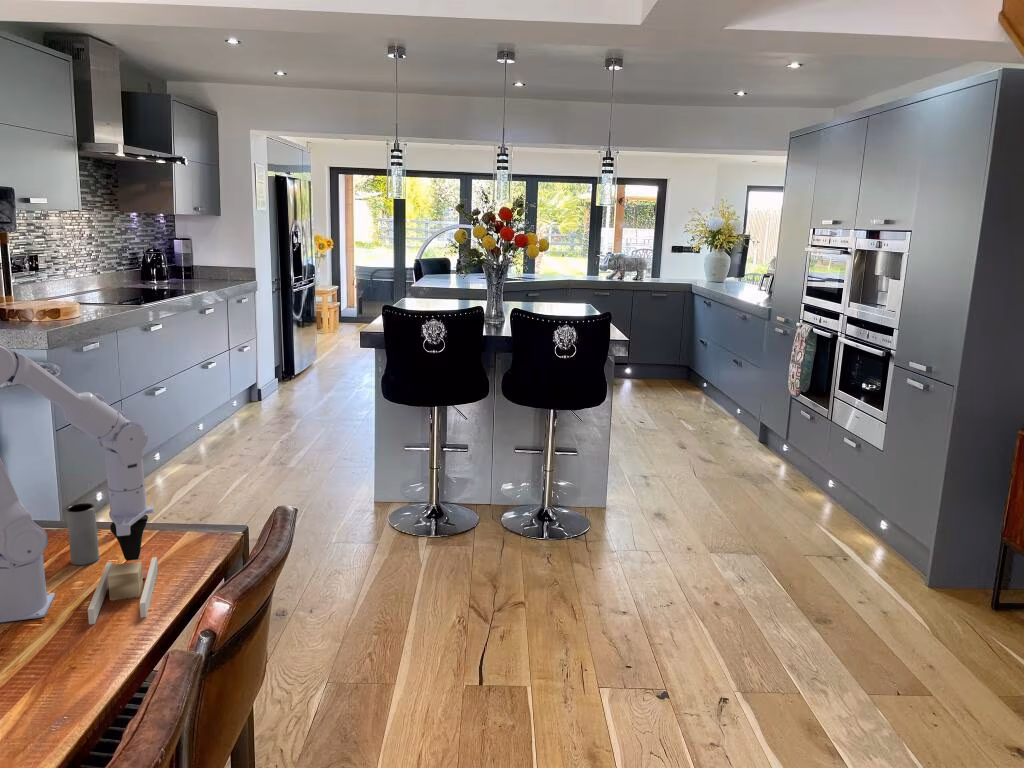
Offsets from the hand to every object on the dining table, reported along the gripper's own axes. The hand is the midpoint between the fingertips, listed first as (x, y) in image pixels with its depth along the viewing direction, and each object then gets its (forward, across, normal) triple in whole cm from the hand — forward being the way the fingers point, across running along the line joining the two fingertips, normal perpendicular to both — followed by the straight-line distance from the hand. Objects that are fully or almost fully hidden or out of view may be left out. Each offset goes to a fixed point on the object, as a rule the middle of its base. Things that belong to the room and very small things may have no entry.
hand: (132, 558), depth 137 cm
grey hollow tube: (+3, +8, +9) cm, 12 cm away
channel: (+3, -9, 0) cm, 9 cm away
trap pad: (+3, -2, 0) cm, 3 cm away
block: (+3, -8, 0) cm, 9 cm away
